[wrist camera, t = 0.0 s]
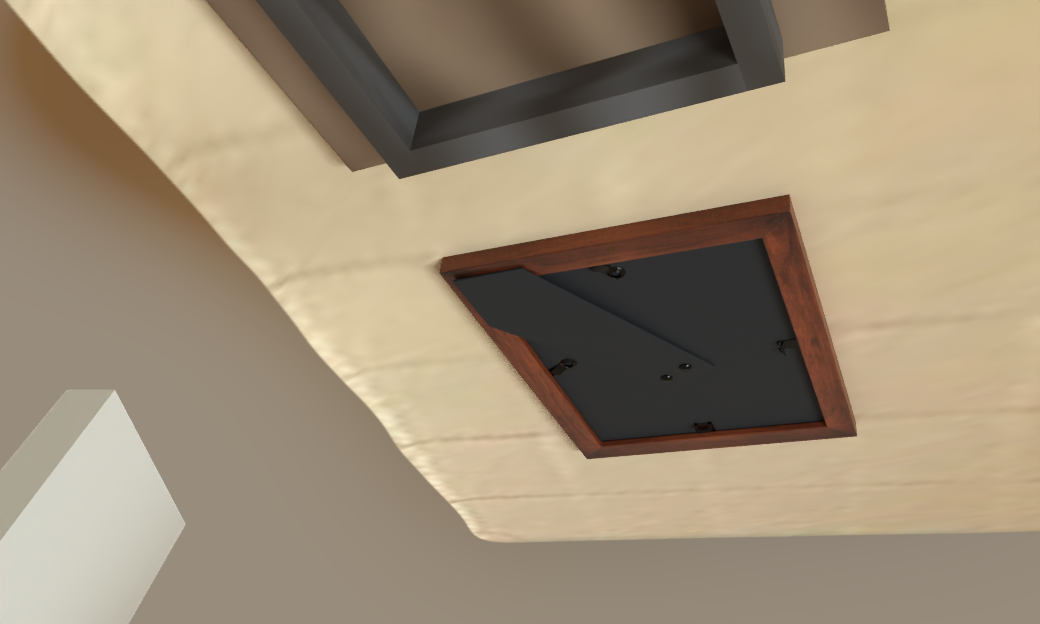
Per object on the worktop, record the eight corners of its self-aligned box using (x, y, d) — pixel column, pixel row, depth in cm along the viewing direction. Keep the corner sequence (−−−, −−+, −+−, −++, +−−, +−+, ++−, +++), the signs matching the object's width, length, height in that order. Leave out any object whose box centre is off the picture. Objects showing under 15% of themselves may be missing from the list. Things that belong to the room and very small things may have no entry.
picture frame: (444, 249, 56) (588, 439, 75) (438, 276, 55) (586, 462, 74) (788, 185, 48) (854, 414, 67) (790, 215, 47) (857, 439, 66)
